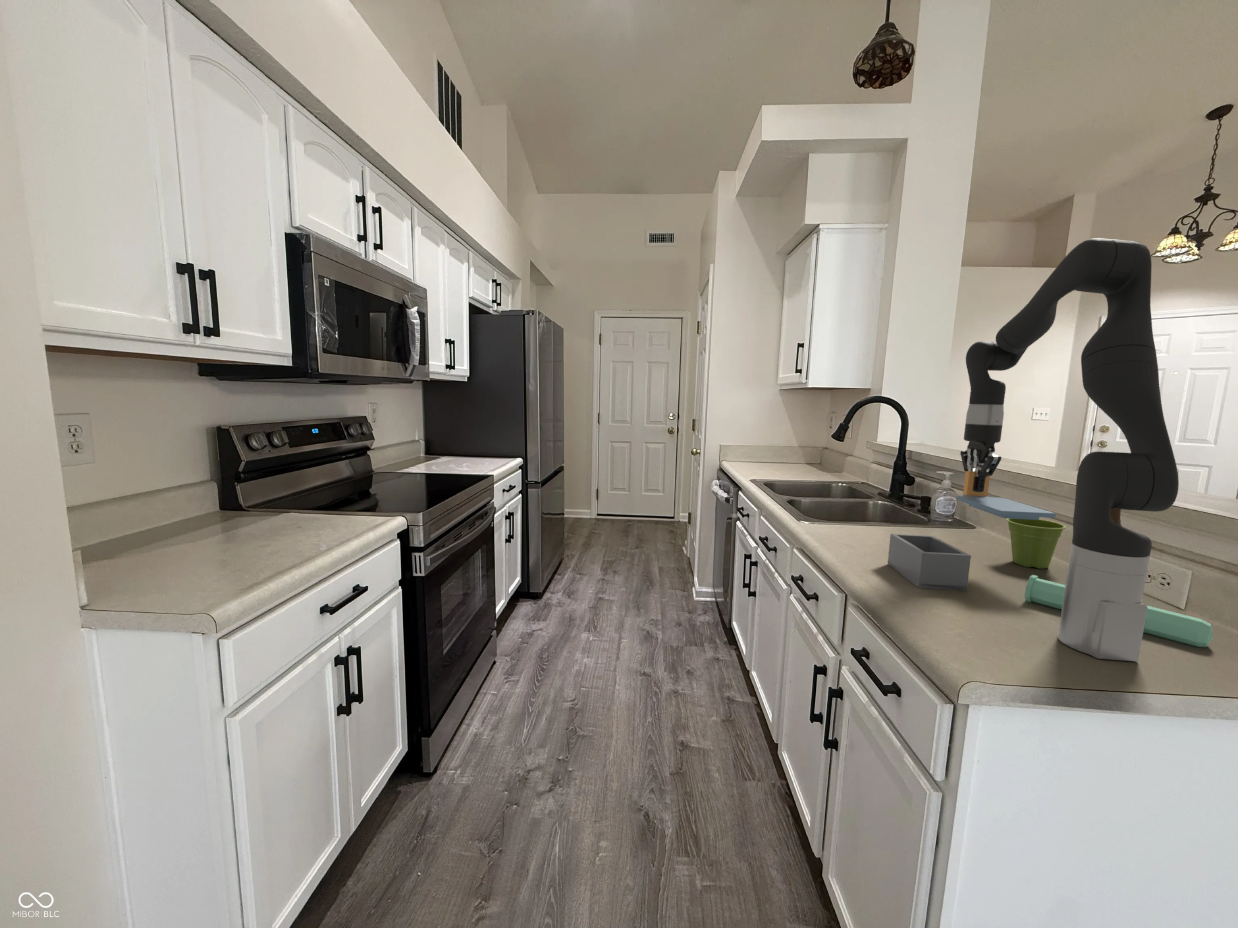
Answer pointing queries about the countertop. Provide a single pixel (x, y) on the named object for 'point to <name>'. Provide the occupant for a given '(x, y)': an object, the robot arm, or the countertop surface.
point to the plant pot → (1034, 541)
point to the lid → (998, 502)
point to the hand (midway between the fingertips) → (975, 490)
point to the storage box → (929, 562)
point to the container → (1155, 622)
